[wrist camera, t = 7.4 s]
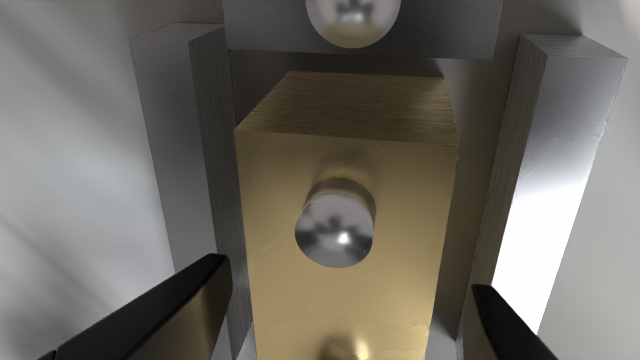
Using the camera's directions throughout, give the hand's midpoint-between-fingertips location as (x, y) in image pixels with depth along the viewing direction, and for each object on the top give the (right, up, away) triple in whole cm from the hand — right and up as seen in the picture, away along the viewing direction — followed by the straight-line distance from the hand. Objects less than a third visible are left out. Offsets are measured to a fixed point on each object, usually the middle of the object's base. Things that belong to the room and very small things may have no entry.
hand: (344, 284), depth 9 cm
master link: (+1, +2, +3) cm, 3 cm away
